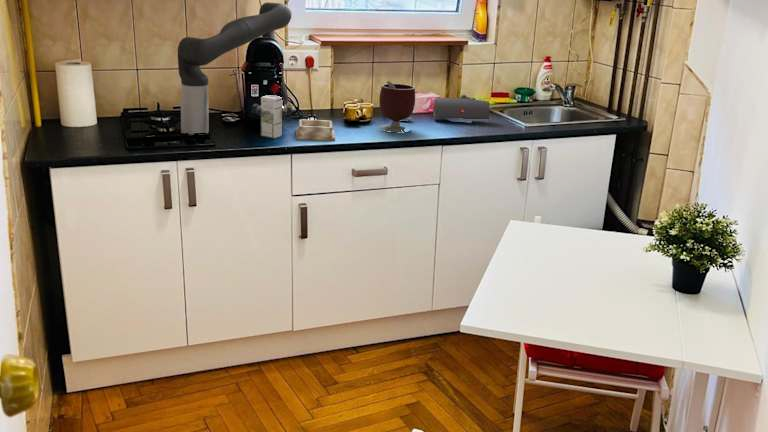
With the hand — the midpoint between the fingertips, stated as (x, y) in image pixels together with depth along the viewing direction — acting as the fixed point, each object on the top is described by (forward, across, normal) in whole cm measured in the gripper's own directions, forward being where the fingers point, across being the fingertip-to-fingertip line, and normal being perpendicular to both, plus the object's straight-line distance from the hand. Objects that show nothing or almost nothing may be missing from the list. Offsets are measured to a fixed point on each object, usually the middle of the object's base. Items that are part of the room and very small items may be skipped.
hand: (271, 113), depth 275 cm
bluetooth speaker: (-41, +78, +9) cm, 88 cm away
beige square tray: (-5, +16, +8) cm, 19 cm away
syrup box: (-1, 0, +9) cm, 9 cm away
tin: (-36, +33, +9) cm, 49 cm away
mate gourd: (-20, +47, +9) cm, 52 cm away
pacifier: (-38, +53, +9) cm, 66 cm away
